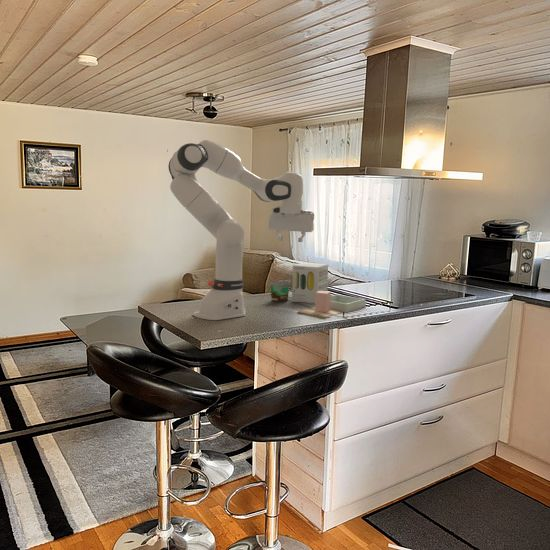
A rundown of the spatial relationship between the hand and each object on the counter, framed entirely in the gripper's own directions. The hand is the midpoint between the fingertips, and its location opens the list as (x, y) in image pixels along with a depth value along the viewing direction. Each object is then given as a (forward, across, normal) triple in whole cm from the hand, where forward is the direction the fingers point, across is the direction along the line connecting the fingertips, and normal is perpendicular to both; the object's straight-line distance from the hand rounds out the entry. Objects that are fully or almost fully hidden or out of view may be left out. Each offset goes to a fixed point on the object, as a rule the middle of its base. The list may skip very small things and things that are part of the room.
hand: (290, 241), depth 224 cm
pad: (+29, -18, +9) cm, 35 cm away
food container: (+29, +5, -8) cm, 31 cm away
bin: (+28, -24, -6) cm, 37 cm away
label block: (+28, -18, +7) cm, 34 cm away
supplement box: (+29, -6, -14) cm, 33 cm away
